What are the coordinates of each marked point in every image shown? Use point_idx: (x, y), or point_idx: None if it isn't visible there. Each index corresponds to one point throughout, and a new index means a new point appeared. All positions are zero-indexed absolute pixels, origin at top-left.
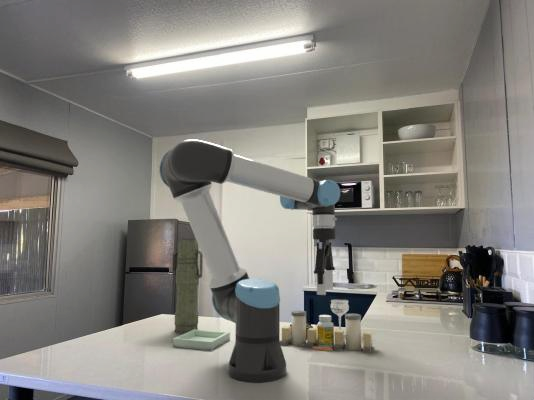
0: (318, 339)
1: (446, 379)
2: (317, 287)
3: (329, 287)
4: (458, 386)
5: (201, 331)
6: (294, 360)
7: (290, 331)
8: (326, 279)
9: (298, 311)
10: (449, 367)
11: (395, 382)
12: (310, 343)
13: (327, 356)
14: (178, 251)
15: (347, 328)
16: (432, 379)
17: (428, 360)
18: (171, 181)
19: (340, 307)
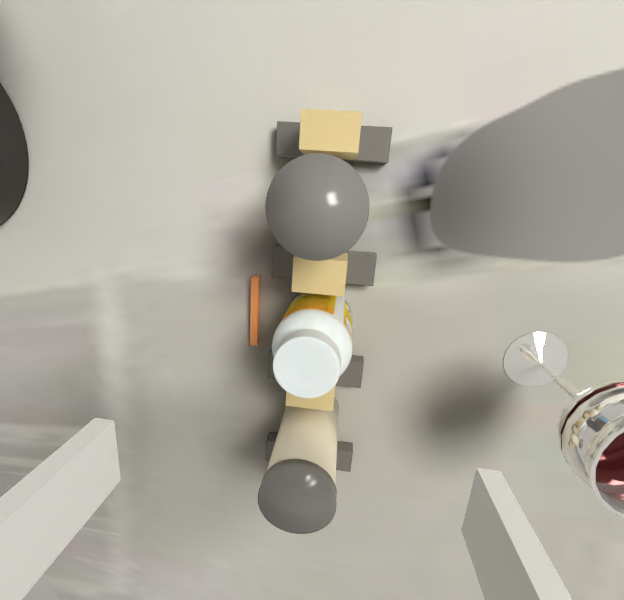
0: (298, 298)
1: (117, 569)
2: (44, 467)
3: (474, 524)
4: (86, 577)
5: None
6: (105, 232)
7: (349, 155)
8: (522, 593)
9: (327, 205)
10: (203, 594)
11: None
12: (278, 265)
13: (188, 331)
14: None
15: (281, 436)
16: (105, 547)
17: (244, 569)
18: None
19: (566, 448)
